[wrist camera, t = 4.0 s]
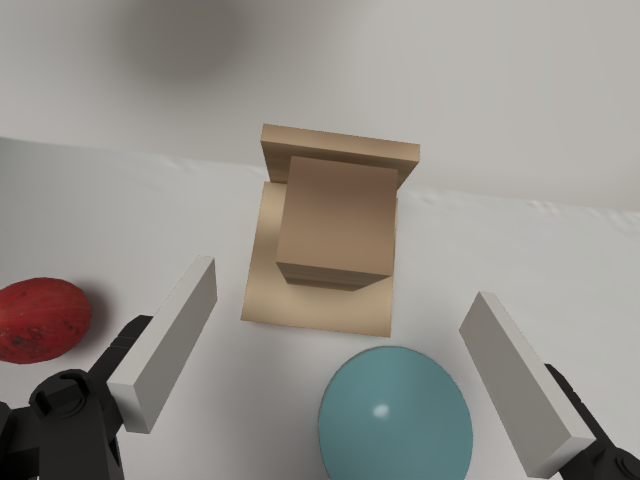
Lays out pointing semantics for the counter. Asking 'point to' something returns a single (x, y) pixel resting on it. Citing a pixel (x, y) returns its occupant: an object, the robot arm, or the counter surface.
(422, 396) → the teal flattened ellipsoid
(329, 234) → the block
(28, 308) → the onion
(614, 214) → the counter surface
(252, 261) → the ledge
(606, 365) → the counter surface
